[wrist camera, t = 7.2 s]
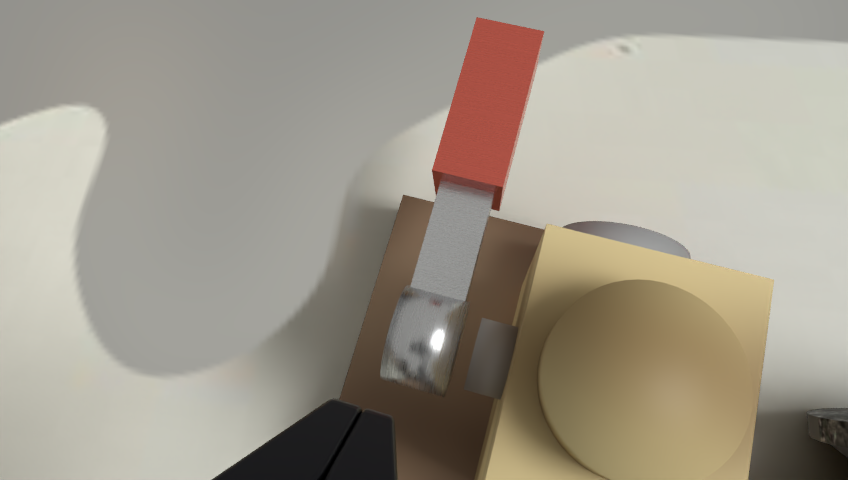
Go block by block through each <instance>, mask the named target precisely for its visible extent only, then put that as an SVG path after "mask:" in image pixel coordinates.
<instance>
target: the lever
mask: <svg viewBox="0 0 848 480" xmlns="http://www.w3.org/2000/svg"><path fill="white" fill-rule="evenodd" d="M543 35H544V31H540V30H535V29H530V28H526V27H520V26H516V25H511V24H506V23H501V22H497V21H492V20H487V19H482V18H478V17H477V18H476V22H475V25H474V29H473V32H472V36H471V39H470V43H469V46H468V49H467V53H466V56H465V59H464V63H463V66H462V70H461V73H460V77H459V80H458V83H457V87H456V90H455V94H454V97H453V101H452V104H451V107H450V111H449V114H448V118H447V121H446V124H445V128H444V131H443V135H442V138H441V142H440V145H439V148H438V152H437V155H436V159H435V162H434V166H433V169H432V172H433V179H434V185H435V192H436V195H437V196H436V199H435V202H434V206H433V209H432V213H431V216H430V220H429V223H428V227H427V230H426V234H425V237H424V241H423V244H422V248H421V251H420V255H419V258H418V262H417V265H416V268H415V272H414V275H413V279H412V282H411V286H409V285H407V286H406V287H405V288H404V290H403V291H402V293H401V296H400V298H399V300H398V303H397V305H396V308H395V311H394V314H393V317H392V320H391V323H390V327H389V330H388V334H387V338H386V342H385V346H384V351H383V356H382V361H381V369H380V377H381V379H383V380H386V381H390V382H393V383H397V384H400V385H404V386H407V387H411V388H414V389H417V390H421V391H424V392H428V393H431V394H435V395H438V396H442V397H445V396H446V393H447V390H448V387H449V384H450V380H451V377H452V373H453V370H454V366H455V363H456V359H457V355H458V351H459V348H460V344H461V340H462V336H463V332H464V328H465V324H466V319H467V315H468V310H469V305H470V302H469V301H467V298H468V294H469V291H470V287H471V283H472V279H473V275H474V272H475V268H476V264H477V260H478V257H479V253H480V249H481V245H482V242H483V238H484V234H485V230H486V227H487V223H488V219H489V215H490V212H491V209H493V210H497V211H499V210H500V206H501V202H502V198H503V195H504V191H505V187H506V183H507V179H508V176H509V172H510V168H511V164H512V160H513V157H514V153H515V149H516V145H517V141H518V138H519V134H520V130H521V126H522V122H523V119H524V115H525V111H526V107H527V103H528V100H529V96H530V92H531V88H532V84H533V81H534V77H535V73H536V69H537V64H538V59H539V54H540V49H541V44H542V39H543Z"/></svg>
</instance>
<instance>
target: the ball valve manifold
mask: <svg viewBox="0 0 848 480" xmlns="http://www.w3.org/2000/svg"><path fill="white" fill-rule="evenodd" d="M433 206H434V202H430V201H426V200H422V199H418V198H414V197H410V196H406V195H403V197H402V201H401V204H400V207H399V210H398V213H397V217H396V220H395V223H394V226H393V229H392V233H391V236H390V239H389V242H388V245H387V248H386V252H385V255H384V258H383V261H382V264H381V268H380V271H379V274H378V277H377V280H376V284H375V287H374V290H373V293H372V296H371V300H370V303H369V306H368V309H367V312H366V316H365V319H364V322H363V325H362V328H361V332H360V335H359V338H358V341H357V344H356V348H355V351H354V354H353V357H352V360H351V364H350V367H349V370H348V373H347V376H346V380H345V383H344V386H343V389H342V392H341V395H340V399H339V400H342V401H345V402H349V403H352V404H355V405H358V406H360V408H361V409H362V411H363V410H365V409H371V410H375V411H378V412H381V413H384V414H388V415H391V416H392V417H393V418H394V421H395V436H396V455H397V474H398V480H748V476H749V468H750V460H751V453H752V445H753V437H754V430H755V422H756V414H757V407H758V399H759V391H760V384H761V376H762V368H763V361H764V353H765V345H766V338H767V330H768V322H769V315H770V307H771V299H772V292H773V284H774V280H773V279H769V278H765V277H761V276H757V275H753V274H749V273H744V272H740V271H736V270H732V269H728V268H724V267H720V266H716V265H712V264H708V263H704V262H700V261H696V260H692V259H690V253H689V252H688V250H687V249H686V248H685V247H684V246H683V245H681V244H680V243H679V242H677V241H675V240H673V239H672V238H669V237H667V236H665V235H663V234H660V233H657V232H654V231H651V230H648V229H645V228H641V227H637V226H632V225H627V224H621V223H614V222H602V221H587V222H577V223H572V224H569V225H566V226H564V227H558V226H554V225H550V224H547V225H546V227H545V230H543V229H539V228H535V227H531V226H527V225H523V224H519V223H515V222H511V221H507V220H503V219H499V218H495V217H491V216H489V219H488V223H487V227H486V230H485V234H484V238H483V242H482V245H481V249H480V253H479V257H478V260H477V264H476V268H475V272H474V275H473V279H472V283H471V287H470V291H469V294H468V298H467V301H469V302H470V305H469V310H468V315H467V319H466V324H465V328H464V332H463V336H462V340H461V344H460V348H459V351H458V355H457V359H456V363H455V366H454V370H453V373H452V377H451V380H450V384H449V387H448V390H447V393H446V396H445V397H442V396H438V395H435V394H431V393H428V392H424V391H421V390H417V389H414V388H411V387H407V386H404V385H400V384H397V383H393V382H390V381H386V380H383V379H381V377H380V369H381V361H382V356H383V351H384V346H385V342H386V338H387V334H388V330H389V327H390V323H391V320H392V317H393V314H394V311H395V308H396V305H397V303H398V300H399V298H400V296H401V293H402V291H403V290H404V288H405V287H406V286H407V285H409V286H411V282H412V279H413V275H414V272H415V268H416V265H417V262H418V258H419V255H420V251H421V248H422V244H423V241H424V237H425V234H426V230H427V227H428V223H429V220H430V216H431V213H432V209H433Z"/></svg>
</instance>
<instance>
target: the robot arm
mask: <svg viewBox="0 0 848 480" xmlns="http://www.w3.org/2000/svg"><path fill="white" fill-rule="evenodd" d="M212 480H398V474H397V455H396V436H395V421H394V418H393V417H392V416H391V415H388V414H384V413H381V412H378V411H375V410H371V409H365V410H363V411H362V409H361V408H360V406H358V405H355V404H352V403H349V402H345V401H342V400H339V399H331V400H329V401H327V402H326V403H324V404H323V405H321V406H320V407H318V408H317V409H315V410H314V411H312V412H311V413H309V414H308V415H306V416H305V417H303V418H302V419H300V420H299V421H298V422H296V423H295V424H293V425H292V426H290V427H289V428H287V429H286V430H284V431H283V432H281V433H280V434H278V435H277V436H275V437H274V438H272V439H271V440H269V441H268V442H267V443H265V444H264V445H262V446H261V447H259V448H258V449H256V450H255V451H253V452H252V453H250V454H249V455H247V456H246V457H244V458H243V459H241V460H240V461H239V462H237V463H236V464H234V465H233V466H231V467H230V468H228V469H227V470H225V471H224V472H222V473H221V474H219V475H218V476H216V477H215V478H213V479H212Z"/></svg>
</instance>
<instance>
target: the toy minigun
mask: <svg viewBox="0 0 848 480" xmlns="http://www.w3.org/2000/svg"><path fill="white" fill-rule="evenodd" d="M807 419H808V430H809V436H810V437H811V438H812V439H815V440H817V441H820V442H823V443H827V444H830V445H831V446H833V447H834V448H835V449H837V450H838V451H839V452H841V453H842V454H843V455H845V456H846V457H847V458H848V408H827V409H817V410H811V411H808V412H807Z"/></svg>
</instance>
